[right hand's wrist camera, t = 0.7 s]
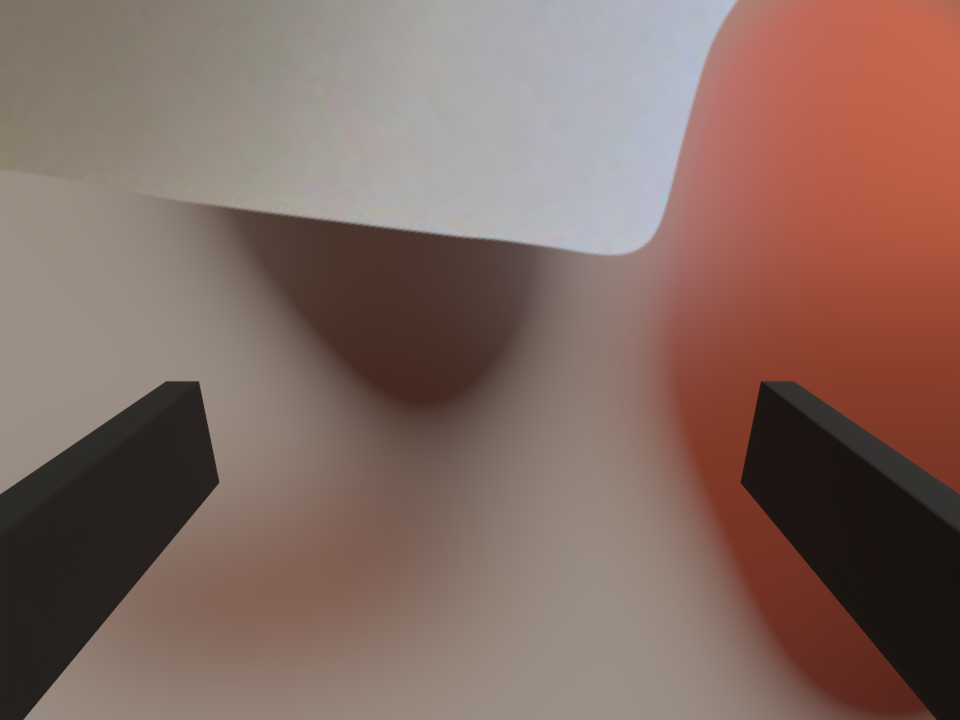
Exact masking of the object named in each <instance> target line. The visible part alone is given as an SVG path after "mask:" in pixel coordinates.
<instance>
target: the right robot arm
mask: <svg viewBox="0 0 960 720" xmlns="http://www.w3.org/2000/svg"><path fill="white" fill-rule="evenodd" d="M218 484H219V478H218V473H217V469H216V464H215V459H214V454H213V449H212V444H211V439H210V434H209V429H208V424H207V419H206V414H205V409H204V404H203V399H202V394H201V389H200V385H199V382H198V381H166V382H165V383H163V384H162V385H160V386H159V387H157V388H156V389H154V390H153V391H151V392H150V393H148V394H147V395H146V396H144V397H143V398H141V399H140V400H138V401H137V402H135V403H134V404H132V405H131V406H129V407H128V408H127V409H125V410H124V411H122V412H121V413H119V414H118V415H116V416H115V417H113V418H112V419H110V420H109V421H107V422H106V423H105V424H103V425H102V426H100V427H99V428H97V429H96V430H94V431H93V432H91V433H90V434H88V435H87V436H85V437H84V438H82V439H81V440H80V441H78V442H77V443H75V444H74V445H72V446H71V447H69V448H68V449H66V450H65V451H63V452H62V453H61V454H59V455H58V456H56V457H55V458H53V459H52V460H50V461H49V462H47V463H46V464H44V465H43V466H41V467H40V468H38V469H37V470H36V471H34V472H33V473H31V474H30V475H28V476H27V477H25V478H24V479H22V480H21V481H19V482H18V483H16V484H15V485H14V486H12V487H11V488H9V489H8V490H6V491H5V492H3V493H2V494H0V720H23V719H24V718H25V717H26V716H27V715H28V713H29V712H30V711H31V710H32V708H33V707H34V706H35V705H36V704H37V702H38V701H39V700H40V699H41V698H42V696H43V695H44V694H45V693H46V692H47V690H48V689H49V688H50V687H51V686H52V684H53V683H54V682H55V681H56V680H57V678H58V677H59V676H60V675H61V673H62V672H63V671H64V670H65V669H66V667H67V666H68V665H69V664H70V663H71V661H72V660H73V659H74V658H75V657H76V655H77V654H78V653H79V652H80V651H81V649H82V648H83V647H84V646H85V644H86V643H87V642H88V641H89V640H90V638H91V637H92V636H93V635H94V634H95V632H96V631H97V630H98V629H99V628H100V626H101V625H102V624H103V623H104V621H105V620H106V619H107V618H108V617H109V615H110V614H111V613H112V612H113V611H114V609H115V608H116V607H117V606H118V604H119V603H120V602H121V601H122V600H123V598H124V597H125V596H126V595H127V594H128V592H129V591H130V590H131V589H132V588H133V586H134V585H135V584H136V583H137V582H138V580H139V579H140V578H141V577H142V576H143V574H144V573H145V572H146V571H147V570H148V568H149V567H150V566H151V565H152V563H153V562H154V561H155V560H156V559H157V557H158V556H159V555H160V554H161V553H162V551H163V550H164V549H165V548H166V547H167V545H168V544H169V543H170V542H171V540H172V539H173V538H174V537H175V536H176V534H177V533H178V532H179V531H180V530H181V528H182V527H183V526H184V525H185V524H186V522H187V521H188V520H189V519H190V517H191V516H192V515H193V514H194V513H195V511H196V510H197V509H198V508H199V507H200V505H201V504H202V503H203V502H204V501H205V499H206V498H207V497H208V496H209V495H210V493H211V492H212V491H213V490H214V488H215V487H216V486H217V485H218ZM741 484H742V485H743V486H744V487H745V488H746V490H747V491H748V492H749V493H750V495H751V496H752V497H753V498H754V499H755V501H756V502H757V503H758V504H759V505H760V507H761V508H762V509H763V510H764V511H765V513H766V514H767V515H768V516H769V517H770V519H771V520H772V521H773V522H774V523H775V525H776V526H777V527H778V528H779V530H780V531H781V532H782V533H783V534H784V536H785V537H786V538H787V539H788V540H789V542H790V543H791V544H792V545H793V546H794V548H795V549H796V550H797V551H798V553H799V554H800V555H801V556H802V557H803V559H804V560H805V561H806V562H807V563H808V565H809V566H810V567H811V568H812V569H813V571H814V572H815V573H816V574H817V576H818V577H819V578H820V579H821V580H822V582H823V583H824V584H825V585H826V586H827V588H828V589H829V590H830V591H831V592H832V594H833V595H834V596H835V597H836V599H837V600H838V601H839V602H840V603H841V605H842V606H843V607H844V608H845V609H846V611H847V612H848V613H849V614H850V615H851V617H852V618H853V619H854V620H855V621H856V623H857V624H858V625H859V626H860V628H861V629H862V630H863V631H864V632H865V633H866V635H867V636H868V637H869V638H870V640H871V641H872V642H873V643H874V644H875V646H876V647H877V648H878V649H879V651H880V652H881V653H882V654H883V655H884V657H885V658H886V659H887V660H888V661H889V663H890V664H891V665H892V666H893V667H894V669H895V670H896V671H897V672H898V673H899V675H900V676H901V677H902V678H903V680H904V681H905V682H906V683H907V684H908V686H909V687H910V688H911V689H912V690H913V692H914V693H915V694H916V695H917V696H918V698H919V699H920V700H921V701H922V703H923V704H924V705H925V706H926V707H927V709H928V710H929V711H930V712H931V713H932V715H933V716H934V717H935V718H936V719H937V720H960V494H958V493H957V492H955V491H954V490H952V489H951V488H949V487H948V486H946V485H945V484H944V483H942V482H941V481H939V480H938V479H936V478H935V477H933V476H932V475H930V474H929V473H927V472H926V471H924V470H923V469H922V468H920V467H919V466H917V465H916V464H914V463H913V462H911V461H910V460H908V459H907V458H905V457H904V456H902V455H901V454H900V453H898V452H897V451H895V450H894V449H892V448H891V447H889V446H888V445H886V444H885V443H883V442H882V441H880V440H879V439H878V438H876V437H875V436H873V435H872V434H870V433H869V432H867V431H866V430H864V429H863V428H861V427H860V426H858V425H857V424H856V423H854V422H853V421H851V420H850V419H848V418H847V417H845V416H844V415H842V414H841V413H839V412H838V411H836V410H835V409H833V408H832V407H831V406H829V405H828V404H826V403H825V402H823V401H822V400H820V399H819V398H817V397H816V396H814V395H813V394H812V393H810V392H809V391H807V390H806V389H804V388H803V387H801V386H800V385H798V384H797V383H795V382H794V381H762V382H761V384H760V389H759V394H758V399H757V404H756V409H755V414H754V419H753V424H752V429H751V434H750V439H749V444H748V449H747V454H746V459H745V464H744V469H743V474H742V479H741Z"/></svg>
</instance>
